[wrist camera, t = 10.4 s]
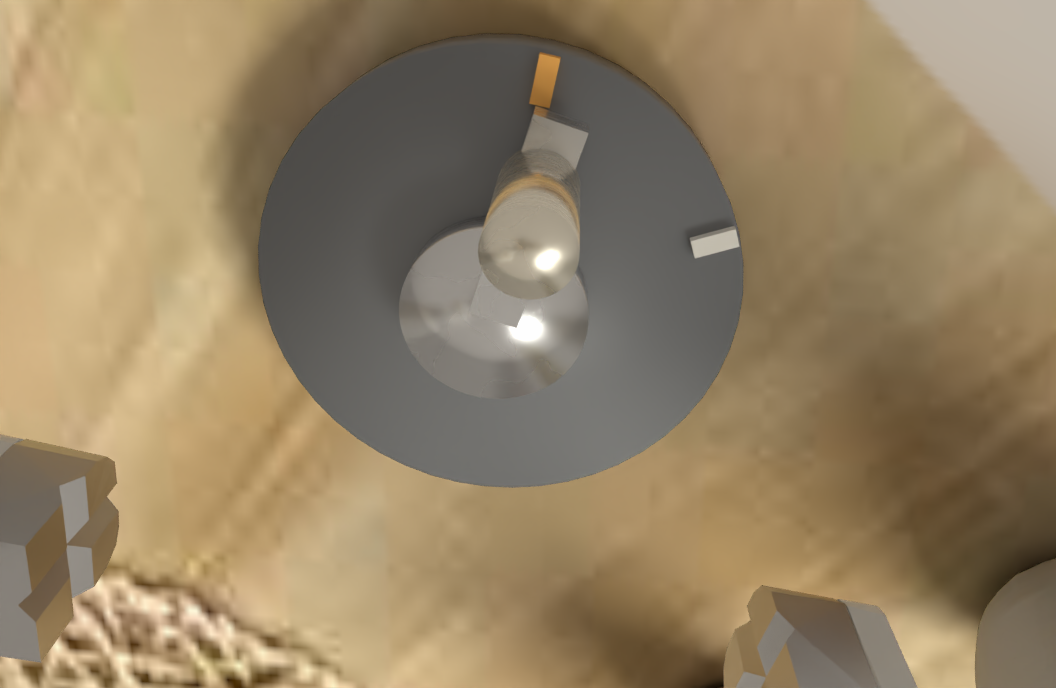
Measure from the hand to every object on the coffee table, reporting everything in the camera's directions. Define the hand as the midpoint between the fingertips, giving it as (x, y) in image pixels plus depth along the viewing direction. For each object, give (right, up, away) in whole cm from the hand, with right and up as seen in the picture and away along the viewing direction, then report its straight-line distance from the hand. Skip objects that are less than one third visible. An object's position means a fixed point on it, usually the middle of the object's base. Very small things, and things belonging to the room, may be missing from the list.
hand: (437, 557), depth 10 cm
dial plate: (0, +5, +18) cm, 19 cm away
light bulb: (+1, +6, +15) cm, 16 cm away
